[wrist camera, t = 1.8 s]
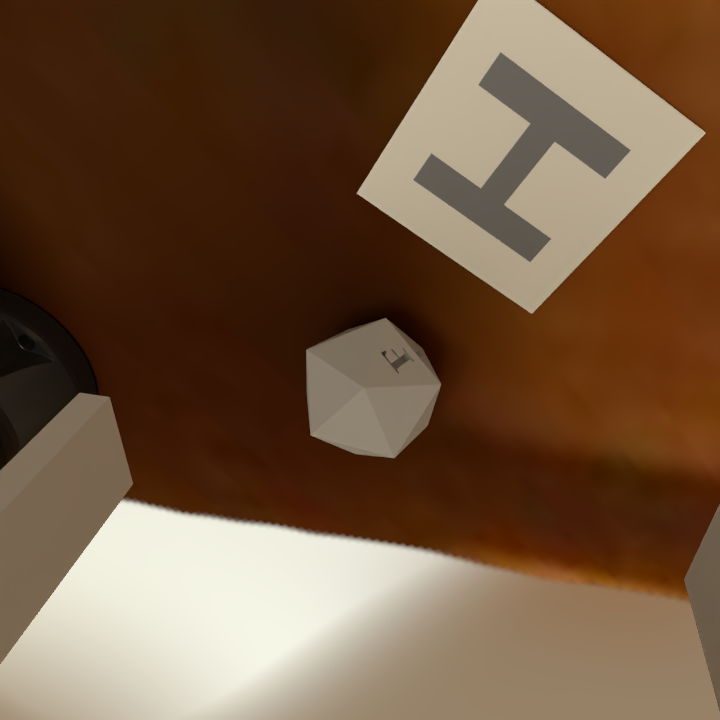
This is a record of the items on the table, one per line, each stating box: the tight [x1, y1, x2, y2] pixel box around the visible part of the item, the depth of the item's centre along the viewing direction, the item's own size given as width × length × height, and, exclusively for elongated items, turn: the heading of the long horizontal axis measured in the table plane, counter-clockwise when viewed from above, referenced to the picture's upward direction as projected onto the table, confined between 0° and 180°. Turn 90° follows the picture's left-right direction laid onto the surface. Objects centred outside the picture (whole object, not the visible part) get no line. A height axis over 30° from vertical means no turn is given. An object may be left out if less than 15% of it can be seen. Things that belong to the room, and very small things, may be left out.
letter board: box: [357, 0, 705, 314], centre depth 33 cm, size 13×13×1 cm
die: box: [306, 318, 441, 458], centre depth 39 cm, size 8×9×10 cm
